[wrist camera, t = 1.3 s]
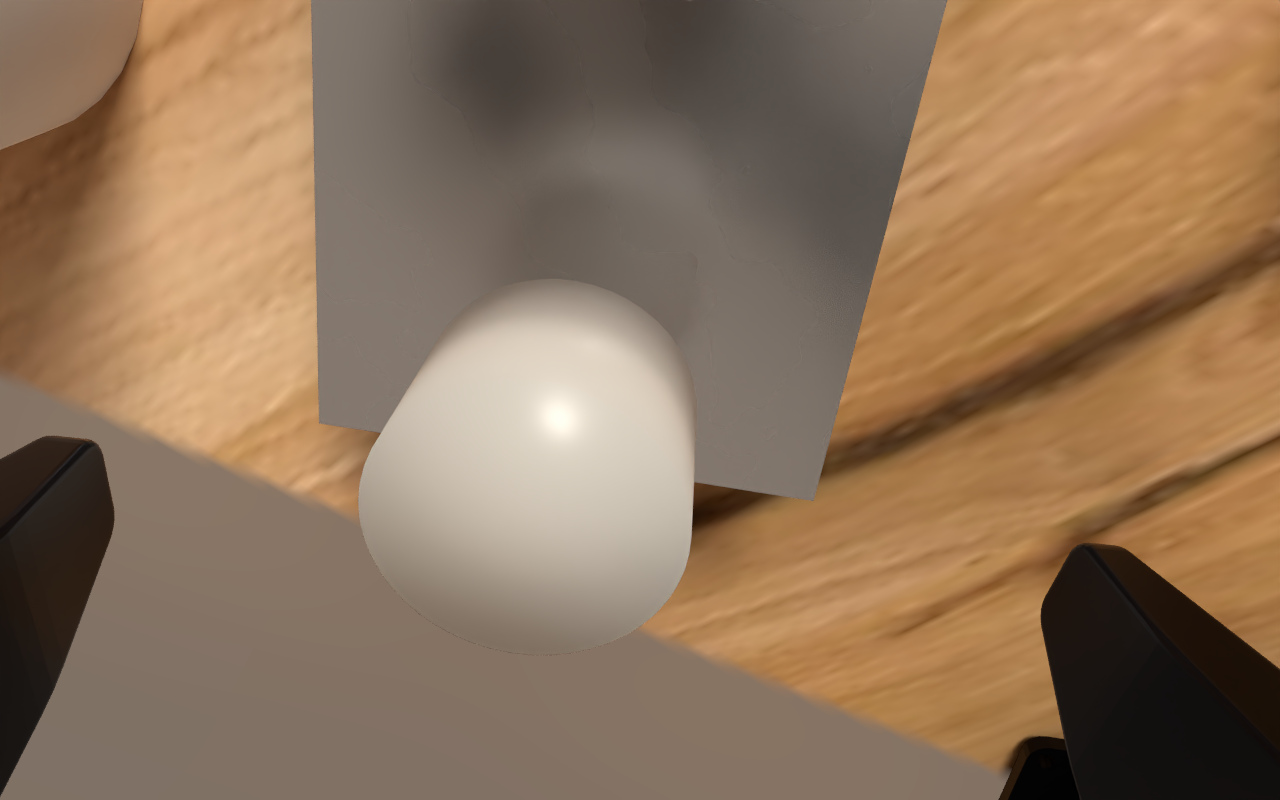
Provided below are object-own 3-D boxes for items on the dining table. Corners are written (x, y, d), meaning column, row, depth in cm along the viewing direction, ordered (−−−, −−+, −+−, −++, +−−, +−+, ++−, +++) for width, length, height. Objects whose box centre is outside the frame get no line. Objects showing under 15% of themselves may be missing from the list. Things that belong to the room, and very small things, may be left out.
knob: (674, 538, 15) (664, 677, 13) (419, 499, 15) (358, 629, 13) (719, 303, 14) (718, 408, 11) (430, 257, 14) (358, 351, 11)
